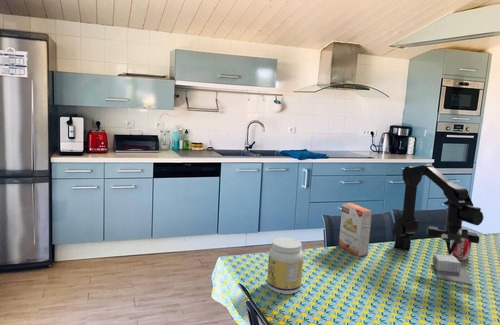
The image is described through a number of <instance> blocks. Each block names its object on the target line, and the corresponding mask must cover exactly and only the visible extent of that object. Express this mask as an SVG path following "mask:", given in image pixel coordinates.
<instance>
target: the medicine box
mask: <svg viewBox="0 0 500 325" xmlns="http://www.w3.org/2000/svg"><path fill="white" fill-rule="evenodd" d="M461 263H462V262H460V261H459V259H456V257H455V256H453V255H449V254H448V255H447V254H439V253H433V255H432V264H433V265H434V268H435V267H436V268H435V270H436V269H437V270H438V271H447V272H456V273H460V268H461Z"/></svg>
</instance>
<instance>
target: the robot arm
mask: <svg viewBox="0 0 500 325" xmlns="http://www.w3.org/2000/svg"><path fill="white" fill-rule="evenodd" d="M423 176H426V177H427V179H429V180H430V181H431V182H433V183H434V184H435V185H436V186H437V187H439V188H440V189H441V190H442V192H443V195H444V196H445V198H446V199H447V200H446V201H445V202H443V205H444V206H447V213H446V220H445V226H444V230H442V229H439V227H438V226H433V225H428V226H426V227H427V228H426V235H427V237H434V238H436V237H438V236H439V235H440V236H441V240H443V241H445V245H446V248H447V254H448V255H450V256H452V252H453V250H454V248H455V247H456V245H457V244H458V243H462V239H463V238H464V239H468V240H469V242H471V244H472V243H473V244H480V235H478V233H476V232H472V231H469V229H466V228H463V227H462V225H463V222H465V223H468V224H471V225H473V226H480V225H481V224H482V222H483V221H484V213H483V212H482V211H481V210H482V208H481V207H478V206H476V207H475V206H474V204H473V203H474V202H473V201H472V198H471V197H470V195H469V191H468V189H467V188H465V187H464V186H462V185H461V184H457V183H455V182H453V181H451V180H450V179H449V178H447V177H446V176H445V175H444V174H442V173H441V172H440V171H439V170H438V169H436V168H435V167H434V165H432V164H422V165H418V166H417V165H415V166H414V165H413V166H405V167H403V169H402V180H403V182H404V184H405V188H404V197H403V198H404V199H403V208H402V209H403V210H402V215H401V216H400V218H399V219H398V222H397V226H395V227H394V228H392V229H391V233H392V235H393V236H395V239H394V246H393V248H394V249H396V250H401V251H408V252H409V251H410V249H411V244H412V243H411V242H412V239H411V237H414V235H415V234H416V233H417V230H419V220H418V219H416V217H415V210H416V209H415V208H416V198H417V191H418V185H419V184H420V182H421V181H422V178H423Z"/></svg>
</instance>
